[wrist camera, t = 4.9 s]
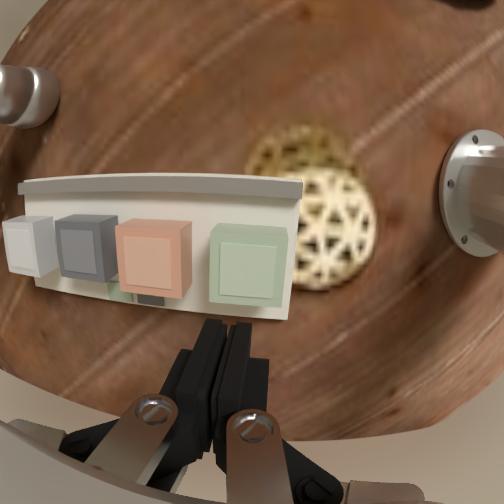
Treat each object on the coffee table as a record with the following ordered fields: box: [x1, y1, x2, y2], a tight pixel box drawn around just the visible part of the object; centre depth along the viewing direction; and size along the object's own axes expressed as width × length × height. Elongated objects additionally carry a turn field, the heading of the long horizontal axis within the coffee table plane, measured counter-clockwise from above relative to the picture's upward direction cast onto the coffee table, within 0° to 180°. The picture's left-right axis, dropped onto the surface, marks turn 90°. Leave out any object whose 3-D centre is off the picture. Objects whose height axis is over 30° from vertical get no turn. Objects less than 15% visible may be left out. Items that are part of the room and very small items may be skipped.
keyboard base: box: [18, 173, 303, 320], centre depth 24 cm, size 28×12×2 cm, turn 86°
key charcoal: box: [54, 214, 118, 283], centre depth 22 cm, size 5×5×3 cm
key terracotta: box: [115, 218, 192, 299], centre depth 21 cm, size 5×5×3 cm
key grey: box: [2, 216, 59, 278], centre depth 22 cm, size 5×5×3 cm
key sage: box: [209, 223, 289, 308], centre depth 21 cm, size 5×5×3 cm
